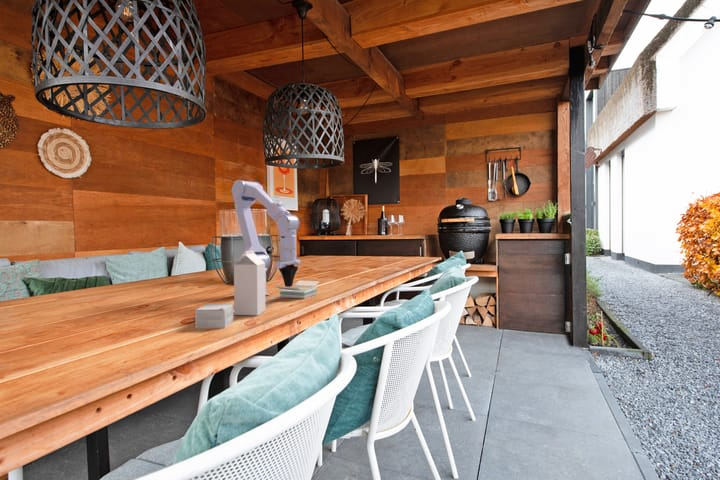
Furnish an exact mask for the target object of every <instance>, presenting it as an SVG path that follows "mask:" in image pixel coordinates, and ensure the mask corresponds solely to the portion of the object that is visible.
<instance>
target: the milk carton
mask: <svg viewBox="0 0 720 480" xmlns="http://www.w3.org/2000/svg"><path fill="white" fill-rule="evenodd" d="M233 290H234V291H233V294H234V300H233V301H234V302H233V303H234V304H233V316H259V315H260V314H262V313H264V312H265V311H266V295H265V262H264V261H262V260H261V259H260V258H259V257H258V256H257V255H256V254H255V253H254V250H250V251H245V254H243V255H241V254H240V256H239V257H238V261H236V262H235V263H234V265H233Z"/></svg>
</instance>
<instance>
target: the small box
mask: <svg viewBox="0 0 720 480" xmlns="http://www.w3.org/2000/svg"><path fill="white" fill-rule="evenodd" d="M194 320H195V321H194V323H195V326H194V327H195V329H227V327H229V326H230V325H231V324H233V322H234V304H233V303H206V304H204V305H202V306H199V307H198V308H196V309H195V310H194Z"/></svg>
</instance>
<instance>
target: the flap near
mask: <svg viewBox="0 0 720 480" xmlns="http://www.w3.org/2000/svg"><path fill="white" fill-rule="evenodd" d="M275 287H276V288H277V289H279V290H297V291H303V289H301V288H298V287H299V286H296V287H293V286H291V287H285V286H282V285H281V286H280V285H278V286H277V285H276V286H275Z"/></svg>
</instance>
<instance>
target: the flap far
mask: <svg viewBox="0 0 720 480" xmlns="http://www.w3.org/2000/svg"><path fill="white" fill-rule="evenodd" d="M319 283H320V281H317V280H302V279H301V280H298V281H297V282H295V284H294V285H293V286H296V287H314V288H317V285H318V284H319Z"/></svg>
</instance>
